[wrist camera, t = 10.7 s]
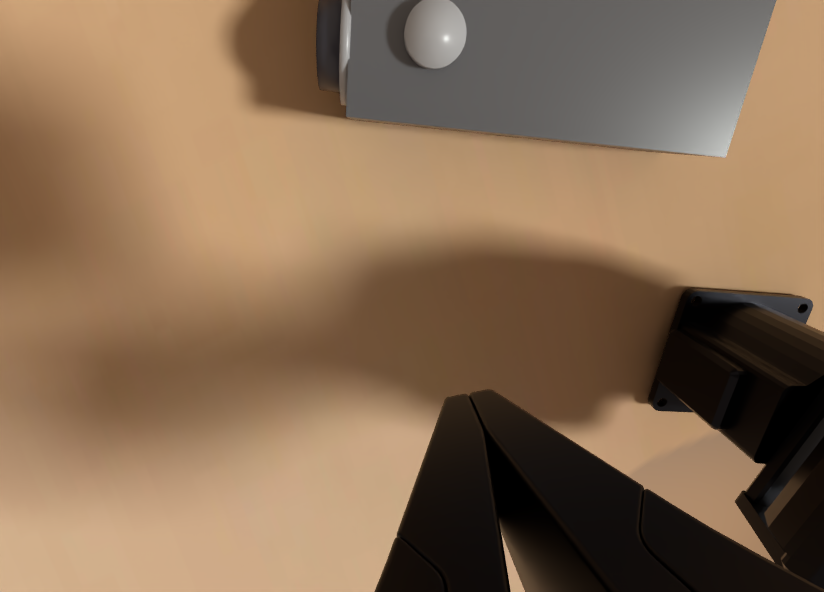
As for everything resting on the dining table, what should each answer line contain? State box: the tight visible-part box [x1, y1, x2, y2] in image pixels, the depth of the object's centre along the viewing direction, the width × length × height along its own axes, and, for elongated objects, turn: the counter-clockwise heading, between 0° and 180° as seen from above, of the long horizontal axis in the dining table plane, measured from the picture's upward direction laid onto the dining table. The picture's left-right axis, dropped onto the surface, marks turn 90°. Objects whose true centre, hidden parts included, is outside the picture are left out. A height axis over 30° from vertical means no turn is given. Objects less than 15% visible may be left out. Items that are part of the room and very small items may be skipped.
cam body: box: [316, 0, 776, 158], centre depth 15 cm, size 14×8×4 cm, turn 84°
